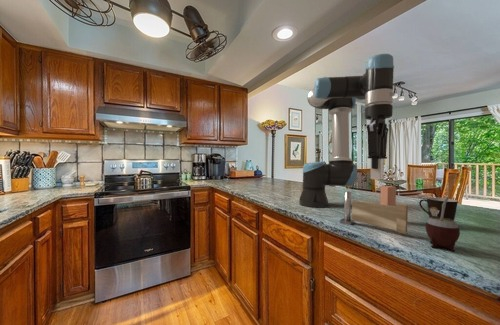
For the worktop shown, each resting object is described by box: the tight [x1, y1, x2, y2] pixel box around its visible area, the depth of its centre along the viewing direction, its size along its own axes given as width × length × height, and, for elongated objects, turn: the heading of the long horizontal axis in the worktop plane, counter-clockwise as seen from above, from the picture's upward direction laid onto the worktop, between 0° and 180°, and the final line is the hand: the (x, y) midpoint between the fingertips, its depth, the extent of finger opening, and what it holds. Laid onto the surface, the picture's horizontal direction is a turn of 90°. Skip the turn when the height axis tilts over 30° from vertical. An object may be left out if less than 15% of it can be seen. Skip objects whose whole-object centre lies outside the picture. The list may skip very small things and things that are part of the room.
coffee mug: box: [418, 196, 459, 221], centre depth 80 cm, size 12×9×10 cm
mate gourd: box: [425, 197, 461, 253], centre depth 58 cm, size 8×8×15 cm
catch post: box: [379, 185, 397, 207], centre depth 83 cm, size 4×4×14 cm
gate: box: [351, 199, 409, 235], centre depth 73 cm, size 2×17×9 cm, turn 42°
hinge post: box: [339, 191, 356, 226], centre depth 81 cm, size 4×4×12 cm
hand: (376, 178), depth 67 cm, fingers open, 2 cm apart
